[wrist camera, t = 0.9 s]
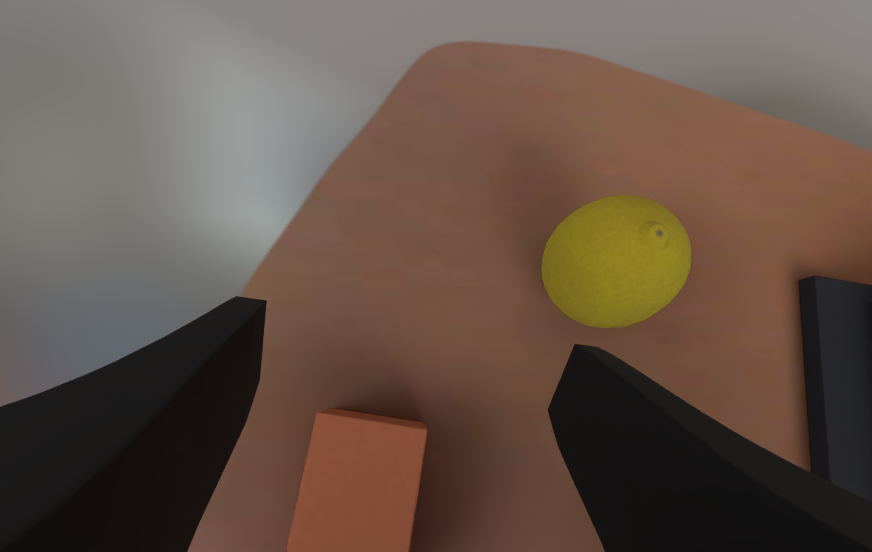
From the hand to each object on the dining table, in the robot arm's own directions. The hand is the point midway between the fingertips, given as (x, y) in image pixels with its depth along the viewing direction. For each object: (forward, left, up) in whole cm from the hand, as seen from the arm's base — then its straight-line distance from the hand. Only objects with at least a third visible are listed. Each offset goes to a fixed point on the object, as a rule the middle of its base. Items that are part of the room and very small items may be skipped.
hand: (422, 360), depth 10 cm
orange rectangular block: (-5, +1, -12) cm, 13 cm away
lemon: (+6, -8, -12) cm, 15 cm away
